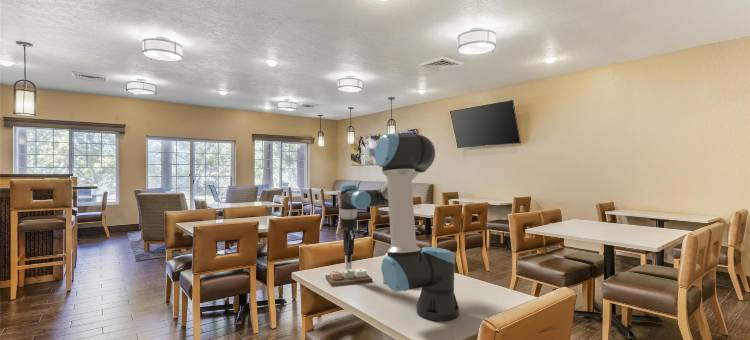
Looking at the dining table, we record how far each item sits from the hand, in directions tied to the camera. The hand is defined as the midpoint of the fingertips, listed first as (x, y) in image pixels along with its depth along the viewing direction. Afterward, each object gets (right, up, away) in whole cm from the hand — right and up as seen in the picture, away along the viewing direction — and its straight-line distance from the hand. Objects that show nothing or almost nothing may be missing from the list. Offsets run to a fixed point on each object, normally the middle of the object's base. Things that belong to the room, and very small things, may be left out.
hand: (348, 268), depth 173 cm
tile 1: (+6, -4, +2) cm, 7 cm away
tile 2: (0, -4, 0) cm, 4 cm away
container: (+20, -6, -2) cm, 21 cm away
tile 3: (-5, -4, -2) cm, 7 cm away
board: (0, -5, 0) cm, 5 cm away
